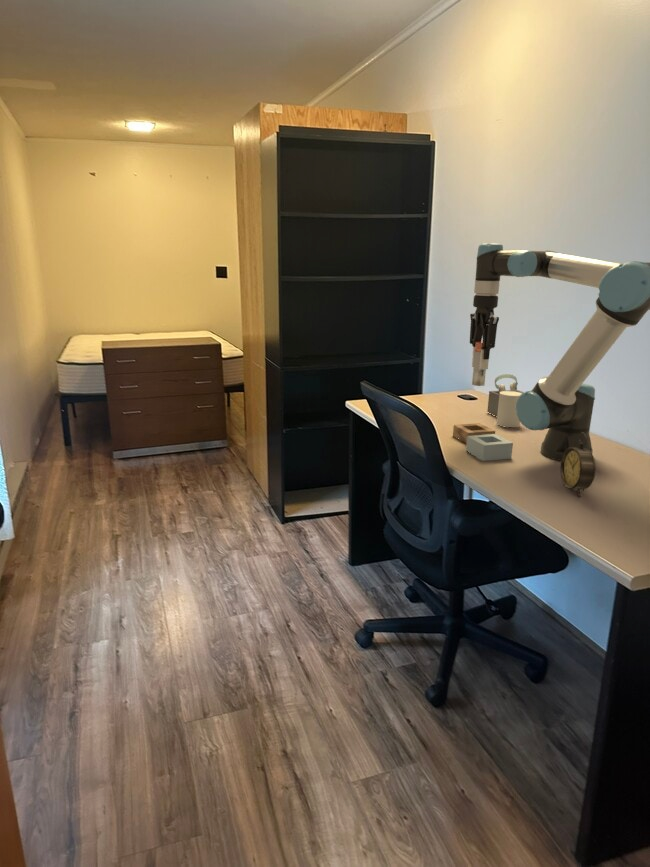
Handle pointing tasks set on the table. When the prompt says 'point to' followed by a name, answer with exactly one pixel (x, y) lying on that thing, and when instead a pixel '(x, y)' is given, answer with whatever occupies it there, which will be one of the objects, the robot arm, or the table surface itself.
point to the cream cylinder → (508, 409)
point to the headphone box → (495, 401)
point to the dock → (489, 447)
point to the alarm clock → (578, 467)
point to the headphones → (502, 387)
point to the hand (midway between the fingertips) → (479, 367)
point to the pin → (478, 373)
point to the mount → (470, 430)
